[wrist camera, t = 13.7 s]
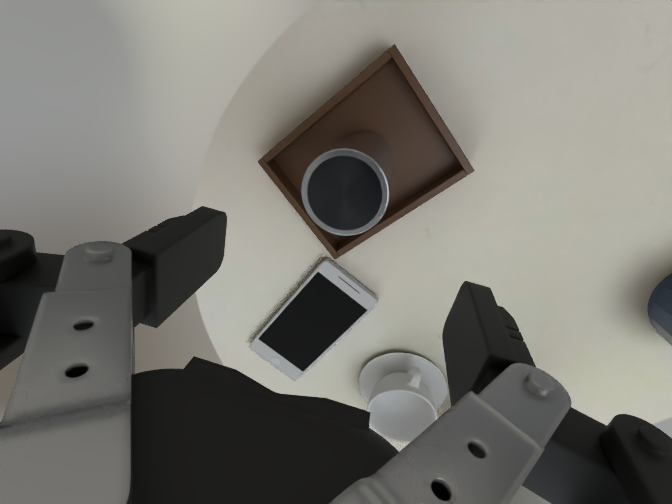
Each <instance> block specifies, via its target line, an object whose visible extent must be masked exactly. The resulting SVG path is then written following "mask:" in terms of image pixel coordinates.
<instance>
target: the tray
mask: <svg viewBox="0 0 672 504" xmlns="http://www.w3.org/2000/svg"><path fill="white" fill-rule="evenodd" d="M358 131H370V132H374V133H376V134H378V135H380V136H382V137H383V138H384V139H385V140H386V141H387V142H388V143H389V145H390V146H391V149H392V151H393V154H394V161H395V163H394V171H393V177H392V184H391V190H390V196H389V202H388V206H387V209H386V211H385V213H384V215H383V217H382V218H381V219H380V221H379V222H378V223H377V224H376V225H375V226H373V227H372V228H371V229H369V230H367V231H365V232H363V233H360V234H357V235H350V236H344V235H337V234H333V233H330V232H328V231H326V230H324V229H323V228H321V227H320V226H318V225H317V224H316V223H315V222H314V221H313V220H312V219H311V217H310V216H309V215H308V213H307V211H306V209H305V207H304V204H303V200H302V194H301V187H302V181H303V177H304V174H305V172H306V170H307V168H308V167H309V165H310V164H311V163H312V162H313V161H314V160H315V159H316V158H317V157H318V156H320V155H321V154H323V153H324V152H325V151H327V150H328V149H330V148H331V147H332V146H334V145H335V144H336V143H338V142H339V141H341V140H342V139H343V138H345V137H346V136H348V135H349V134H351V133H354V132H358ZM258 163H259V164H260V165H261V167H262V168H263V169H264V170H265V172H266V173H267V174H268V175H269V177H270V178H271V179H272V181H273V182H274V183H275V184H276V186H277V187H278V188H279V189H280V191H281V192H282V193H283V194H284V196H285V197H286V198H287V200H288V201H289V202H290V203H291V205H292V206H293V207H294V208H295V210H296V211H297V212H298V213H299V215H300V216H301V217H302V219H303V220H304V221H305V222H306V224H307V225H308V226H309V227H310V229H311V230H312V231H313V232H314V234H315V235H316V236H317V238H318V239H319V240H320V241H321V243H322V244H323V245H324V246H325V248H326V249H327V250H328V251H329V253H330V254H331V255H332V257H333V258H334V259H337V258H338V257H340V256H341V255H343V254H345V253H346V252H348V251H349V250H351V249H352V248H354V247H356V246H357V245H359V244H360V243H362V242H363V241H365V240H367V239H368V238H370V237H371V236H373V235H374V234H376V233H378V232H379V231H381V230H382V229H384V228H385V227H387V226H389V225H390V224H392V223H393V222H395V221H396V220H398V219H400V218H401V217H403V216H404V215H406V214H407V213H409V212H411V211H412V210H414V209H415V208H417V207H418V206H420V205H422V204H423V203H425V202H426V201H428V200H429V199H431V198H433V197H434V196H436V195H437V194H439V193H440V192H442V191H443V190H445V189H447V188H448V187H450V186H451V185H453V184H454V183H456V182H458V181H459V180H461V179H462V178H464V177H465V176H467V175H469V174H470V173H472V172H473V171H474V169H473V167H472V166H471V164H470V163H469V161H468V160H467V158H466V156H465V155H464V153H463V152H462V150H461V148H460V147H459V145H458V144H457V142H456V141H455V139H454V137H453V136H452V134H451V133H450V131H449V129H448V128H447V126H446V125H445V123H444V122H443V120H442V118H441V117H440V115H439V114H438V112H437V110H436V109H435V107H434V106H433V104H432V103H431V101H430V99H429V98H428V96H427V95H426V93H425V91H424V90H423V88H422V87H421V85H420V84H419V82H418V80H417V79H416V77H415V76H414V74H413V73H412V71H411V69H410V68H409V66H408V65H407V63H406V61H405V60H404V58H403V57H402V55H401V54H400V52H399V50H398V49H397V47H396V46H395V44H394V45H393V46H392V47H391V48H389V49H388V51H386V52H385V53H384V54H382V55H381V56H380V57H379V58H378V59H377V60H375V61H374V62H373V63H372V64H371V65H370V66H368V67H367V68H366V69H365V70H364V71H363V72H361V73H360V74H359V75H358V76H357V77H356V78H354V79H353V80H352V81H351V82H350V83H349V84H347V85H346V86H345V87H344V88H343V89H342V90H340V91H339V92H338V93H337V94H336V95H334V96H333V97H332V98H331V99H330V100H329V101H327V102H326V103H325V104H324V105H323V106H322V107H320V108H319V109H318V110H317V111H316V112H315V113H313V114H312V115H311V116H310V117H309V118H308V119H306V120H305V121H304V122H303V123H302V124H301V125H299V126H298V127H297V128H296V129H295V130H294V131H292V132H291V133H290V134H289V135H288V136H287V137H285V138H284V139H283V140H282V141H281V142H280V143H278V144H277V145H276V146H275V147H274V148H273V149H271V150H270V151H269V152H268V153H267V154H266V155H264V156H263V157H262V158H261V159H260V160H259V161H258Z"/></svg>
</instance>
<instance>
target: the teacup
mask: <svg viewBox="0 0 672 504" xmlns="http://www.w3.org/2000/svg"><path fill="white" fill-rule="evenodd" d="M359 389H360V392H361V395H362V397H363V398H364V400H365V401H366V403H367V404H368V405H367V409H366V411H368V412H371V413H370V422H369V424H370V426H371V427H372V428H373V429H374V430H375V431H376V432H377V433H378V434H380V435H381V436H383V437H385V438H387V439H389V440H392V441H396V442H403V443H410V442H411V441H413V440H414V439H415V438H416V437H417V436H418V435H420V434H421V433H422V432H423V431H424V430H425V429H426V428H428V427H429V426H430V425H431V424H432V423H433V422H435V421H436V420H437V419H438V413H437V410H438V409H439V408H440V407H441V406H442V404H443V403H444V401H445V399H446V395H447V384H446V380H445V378H444V376H443V374H442V373H441V371H440V370H439V369H438V368H437V367H436V366H435V365H434V364H433V363H431V362H430V361H428V360H426V359H424V358H422V357H420V356H417V355H414V354H409V353H388V354H384V355H381V356H378V357H376V358H374V359H373V360H371V361H370V362H369V363H368V364H367V365H366V366H365V367H364V368H363V370H362V371H361V374H360V377H359Z"/></svg>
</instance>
